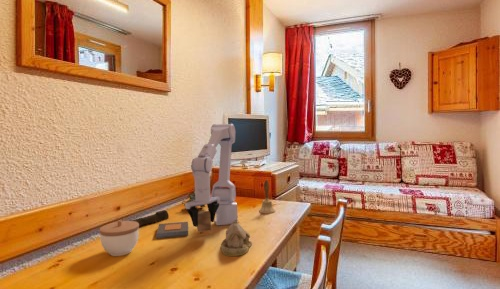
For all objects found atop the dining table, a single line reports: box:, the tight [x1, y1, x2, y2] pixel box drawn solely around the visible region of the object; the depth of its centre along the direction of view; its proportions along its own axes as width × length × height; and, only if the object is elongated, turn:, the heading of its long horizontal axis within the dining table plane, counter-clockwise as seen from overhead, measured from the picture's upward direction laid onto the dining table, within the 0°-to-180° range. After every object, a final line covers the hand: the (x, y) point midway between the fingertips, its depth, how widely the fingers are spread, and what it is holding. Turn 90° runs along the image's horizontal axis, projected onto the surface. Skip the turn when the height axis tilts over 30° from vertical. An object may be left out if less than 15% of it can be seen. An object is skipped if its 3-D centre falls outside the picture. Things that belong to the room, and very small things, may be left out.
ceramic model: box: [220, 220, 253, 257], centre depth 106 cm, size 14×11×10 cm
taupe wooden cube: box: [196, 210, 212, 232], centre depth 116 cm, size 5×5×6 cm
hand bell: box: [258, 179, 276, 215], centre depth 152 cm, size 8×8×16 cm
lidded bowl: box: [99, 219, 140, 257], centre depth 105 cm, size 13×13×11 cm
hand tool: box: [128, 209, 169, 227], centre depth 136 cm, size 19×4×5 cm, turn 136°
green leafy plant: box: [181, 191, 206, 208], centre depth 159 cm, size 11×11×12 cm
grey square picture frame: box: [155, 221, 189, 240], centre depth 124 cm, size 12×12×2 cm
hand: (203, 223), depth 116 cm, fingers closed on taupe wooden cube, 7 cm apart
